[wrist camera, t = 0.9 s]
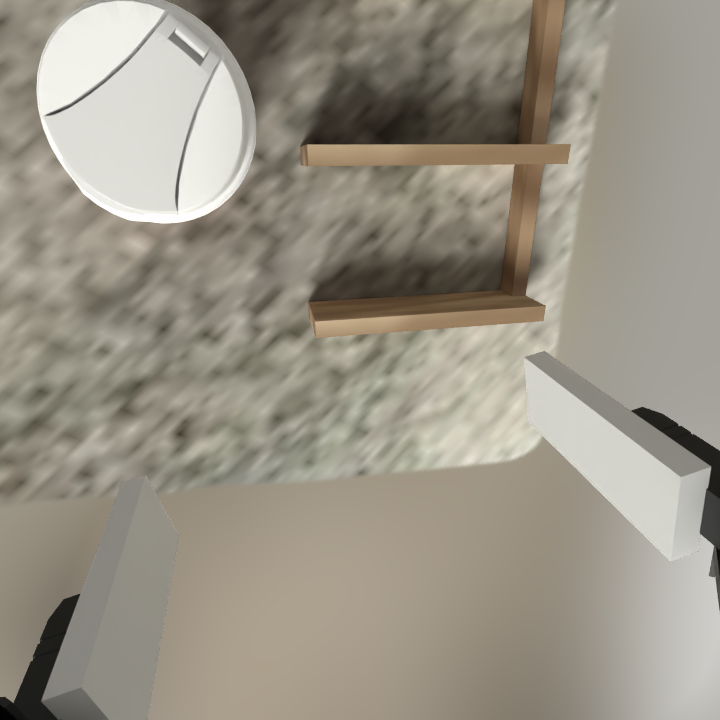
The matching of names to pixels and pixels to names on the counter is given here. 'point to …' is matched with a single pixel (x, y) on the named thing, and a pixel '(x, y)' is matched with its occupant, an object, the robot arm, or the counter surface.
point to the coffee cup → (146, 109)
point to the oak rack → (524, 154)
